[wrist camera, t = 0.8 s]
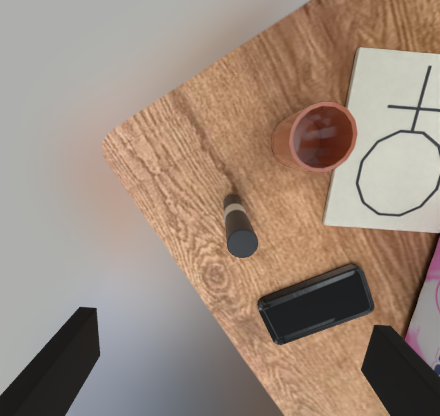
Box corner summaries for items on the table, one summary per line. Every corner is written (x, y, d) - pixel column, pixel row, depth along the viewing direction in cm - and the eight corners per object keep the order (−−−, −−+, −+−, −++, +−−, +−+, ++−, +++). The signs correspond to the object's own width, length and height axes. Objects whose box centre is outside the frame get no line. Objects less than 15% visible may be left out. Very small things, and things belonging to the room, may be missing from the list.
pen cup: (274, 112, 25) (294, 98, 19) (325, 116, 26) (364, 104, 19) (268, 165, 27) (284, 169, 20) (316, 168, 27) (349, 174, 20)
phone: (256, 305, 30) (361, 265, 29) (255, 300, 31) (356, 261, 30) (276, 347, 32) (376, 311, 31) (274, 341, 33) (371, 306, 32)
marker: (223, 193, 28) (227, 227, 15) (241, 194, 28) (260, 229, 15) (222, 210, 28) (225, 257, 16) (240, 211, 28) (257, 260, 16)
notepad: (356, 49, 24) (360, 46, 23) (498, 61, 24) (506, 59, 23) (321, 223, 29) (324, 225, 28) (440, 231, 29) (445, 233, 28)
